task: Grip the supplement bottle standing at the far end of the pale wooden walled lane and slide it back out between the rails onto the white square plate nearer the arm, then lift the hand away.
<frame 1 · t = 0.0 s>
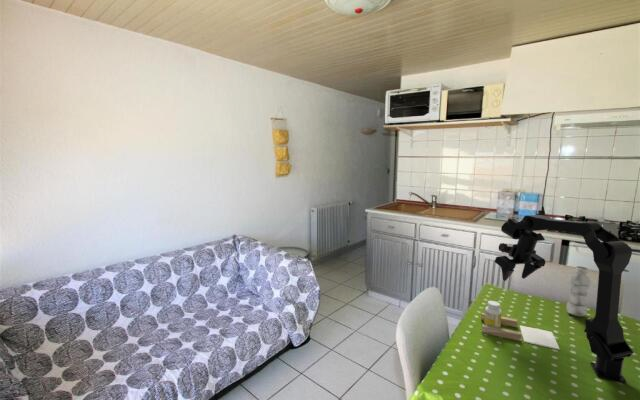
hand: (513, 279, 122), 15 cm above the table, tool pointing down, fingers open, 9 cm apart
plastic bottle: (575, 315, 125), on the table
white square plate: (538, 337, 109), on the table
wooden lane: (499, 328, 114), on the table
supplement bottle: (491, 327, 115), on the table
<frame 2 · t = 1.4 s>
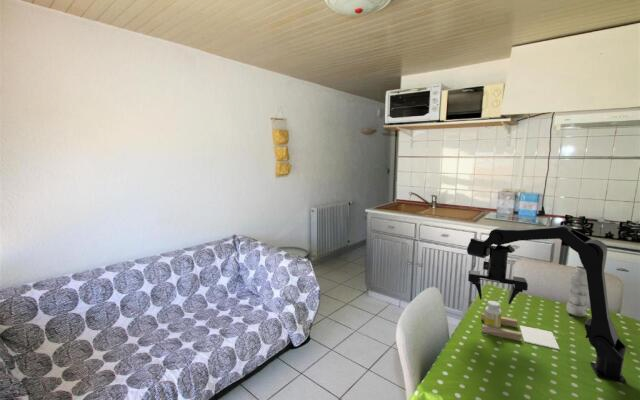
hand: (494, 301, 114), 10 cm above the table, tool pointing down, fingers open, 9 cm apart
nothing on the table moved.
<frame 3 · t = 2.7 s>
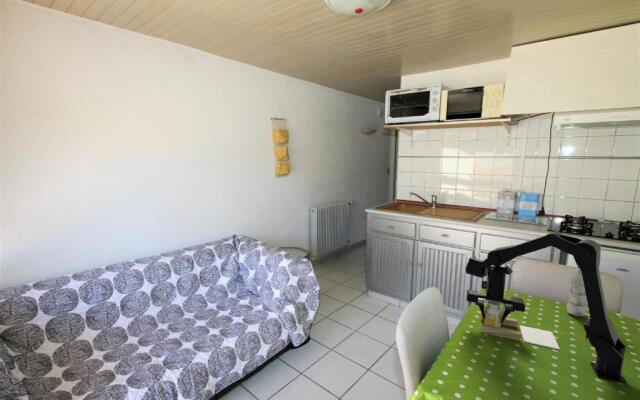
hand: (492, 321, 115), 3 cm above the table, tool pointing down, fingers closed on supplement bottle, 5 cm apart
supplement bottle: (491, 327, 115), on the table, touching gripper
everything else where it was.
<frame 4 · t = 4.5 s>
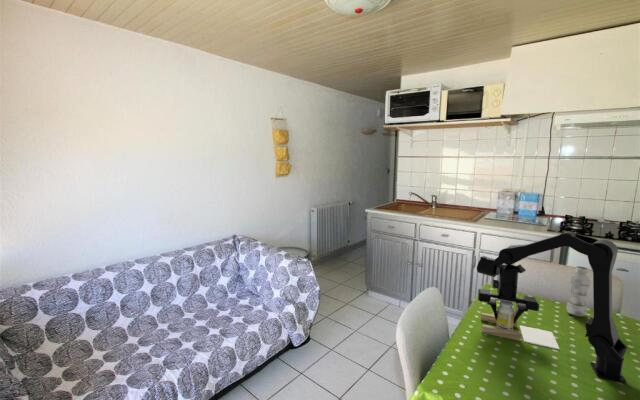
hand: (505, 320, 113), 4 cm above the table, tool pointing down, fingers closed on supplement bottle, 5 cm apart
supplement bottle: (504, 327, 113), point 1 cm above the table, touching gripper
everything else where it was.
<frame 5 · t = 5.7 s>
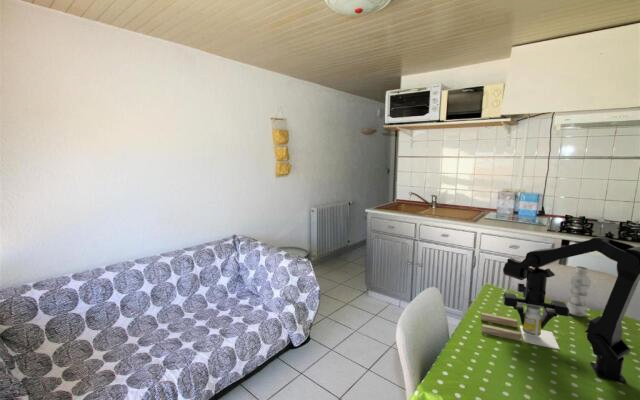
hand: (531, 326, 109), 4 cm above the table, tool pointing down, fingers closed on supplement bottle, 5 cm apart
supplement bottle: (531, 333, 110), point 1 cm above the table, touching gripper
everything else where it was.
when the fingers open (4 cm above the table, at t = 6.7 s): supplement bottle stays where it is, resting on white square plate.
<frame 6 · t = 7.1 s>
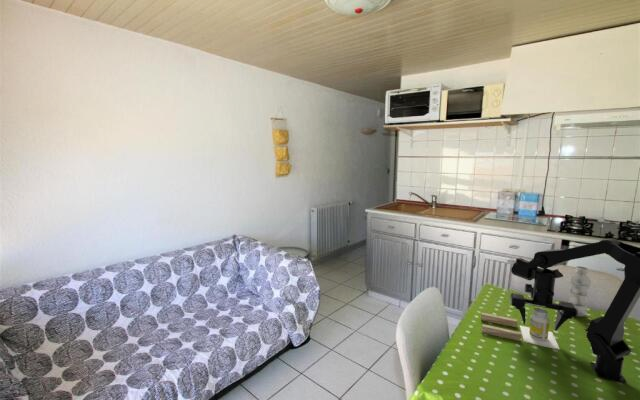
hand: (539, 327, 108), 4 cm above the table, tool pointing down, fingers open, 9 cm apart
supplement bottle: (538, 336, 109), resting on white square plate
everything else where it was.
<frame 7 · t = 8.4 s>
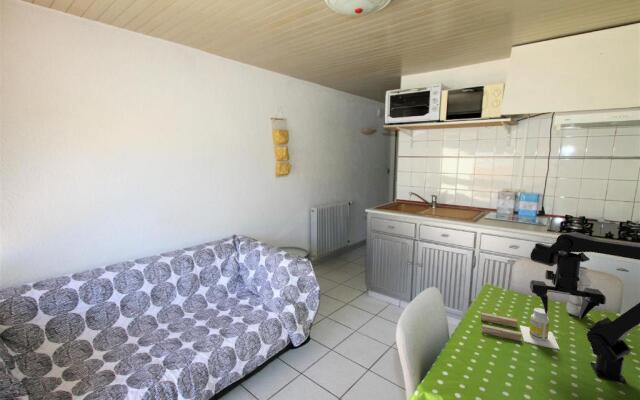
hand: (562, 316, 101), 12 cm above the table, tool pointing down, fingers open, 9 cm apart
nothing on the table moved.
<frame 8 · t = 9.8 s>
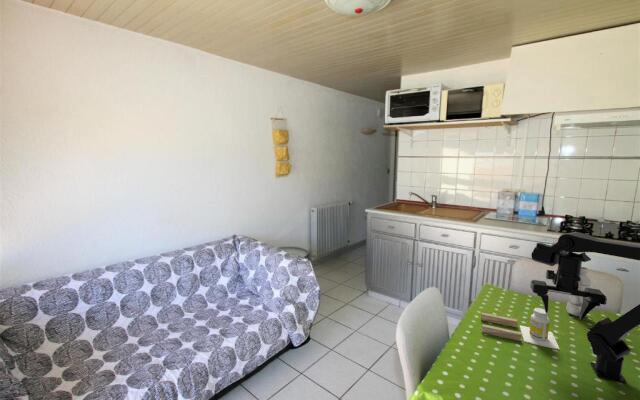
hand: (563, 315, 101), 12 cm above the table, tool pointing down, fingers open, 9 cm apart
nothing on the table moved.
at the end: supplement bottle inside the target area (0.1 cm from its centre), resting on white square plate; supplement bottle tilted 0°; the gripper is holding nothing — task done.
